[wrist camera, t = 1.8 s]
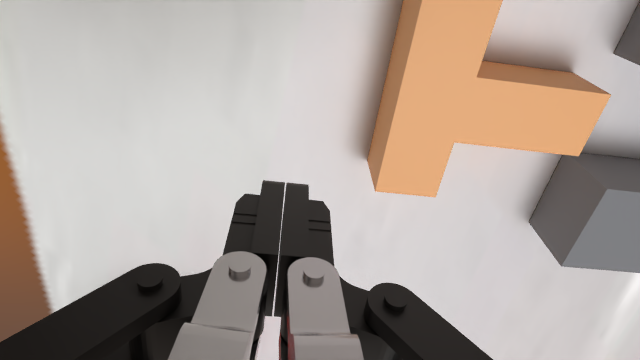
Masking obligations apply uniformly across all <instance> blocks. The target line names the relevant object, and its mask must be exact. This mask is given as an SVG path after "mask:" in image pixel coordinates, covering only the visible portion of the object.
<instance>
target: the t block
mask: <svg viewBox="0 0 640 360" xmlns="http://www.w3.org/2000/svg"><path fill="white" fill-rule="evenodd" d="M502 1H503V0H403V4H402V8H401V13H400V17H399V22H398V26H397V31H396V35H395V40H394V44H393V48H392V53H391V57H390V62H389V66H388V71H387V75H386V80H385V84H384V89H383V93H382V98H381V102H380V106H379V111H378V115H377V120H376V124H375V129H374V133H373V138H372V142H371V147H370V151H369V156H368V160H367V161H368V165H369V169H370V173H371V177H372V181H373V185H374V189H375V191H377V192H387V193H397V194H407V195H418V196H428V197H436V194H437V192H438V189H439V186H440V183H441V180H442V177H443V174H444V171H445V168H446V165H447V162H448V159H449V156H450V153H451V150H452V148H453V145H454V142H455V143H464V144H473V145H482V146H491V147H500V148H509V149H518V150H527V151H536V152H544V153H553V154H562V155H571V156H579V155H580V153H581V151H582V149H583V147H584V146H585V144H586V142H587V140H588V138H589V136H590V134H591V132H592V130H593V128H594V127H595V125H596V123H597V121H598V119H599V117H600V115H601V113H602V111H603V109H604V108H605V106H606V104H607V102H608V100H609V98H610V96H611V94H609V93H607V92H606V91H604V90H602V89H600V88H599V87H597V86H595V85H593V84H592V83H590V82H588V81H586V80H585V79H583V78H581V77H579V76H578V75H576V74H574V73H571V72H563V71H556V70H548V69H541V68H533V67H526V66H518V65H511V64H503V63H495V62H488V61H482V59H483V57H484V54H485V51H486V48H487V45H488V42H489V39H490V36H491V33H492V30H493V27H494V24H495V21H496V18H497V15H498V13H499V10H500V7H501V4H502Z"/></svg>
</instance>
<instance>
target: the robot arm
mask: <svg viewBox="0 0 640 360" xmlns="http://www.w3.org/2000/svg"><path fill="white" fill-rule="evenodd" d="M284 186H285V183H284V182H275V181H265V180H263V183H262V189H261V194H260V195H253V194H244V195H243V196H242V197H241V198H240V199H239V200H238V201H237V202H236V205H235V209H234V214H233V217H232V221H231V225H230V229H229V233H228V236H227V240H226V244H225V248H224V252H223V256H221V257H220V258H219V259H217V261H216V262H215V263H214V265H213V268H211V269H209V270H207V271H205V272H202V273H199V274H194V275H188V276H182V277H180V275H179V273H178V272H177V271H176V270H175V269H174V268H173V267H171V266H168V265H165V264H159V263H152V264H146V265H142V266H139V267H137V268H134V269H133V270H131V271H129V272H127V273H125V274H123V275H122V276H120V277H118V278H116V279H114V280H113V281H111V282H109V283H107V284H105V285H103V286H102V287H100V288H98V289H96V290H94V291H93V292H91V293H89V294H87V295H85V296H83V297H82V298H80V299H78V300H76V301H74V302H73V303H71V304H69V305H67V306H65V307H63V308H62V309H60V310H58V311H56V312H54V313H52V314H51V315H49V316H47V317H45V318H43V319H42V320H40V321H38V322H36V323H34V324H33V325H31V326H29V327H27V328H25V329H23V330H22V331H20V332H18V333H16V334H14V335H12V336H11V337H9V338H7V339H5V340H3V341H2V342H0V360H256V358H257V353H258V348H259V343H260V335H261V334H262V332H263V328H264V319H265V316H272V309H273V300H274V291H275V281H276V272H277V263H278V254H279V264H278V276H277V288H276V299H275V311H274V316H277V317H281V328H280V336H279V360H493V359H492V358H491V357H489V356H488V355H487V354H486V353H485V352H483V351H482V350H481V349H480V348H479V347H477V346H476V345H475V344H474V343H473V342H471V341H470V340H469V339H468V338H467V337H465V336H464V335H463V334H462V333H461V332H459V331H458V330H457V329H456V328H455V327H453V326H452V325H451V324H450V323H449V322H447V321H446V320H445V319H444V318H443V317H441V316H440V315H439V314H438V313H437V312H435V311H434V310H433V309H432V308H431V307H429V306H428V305H427V304H426V303H425V302H423V301H422V300H421V299H420V298H419V297H417V296H416V295H415V294H414V293H413V292H411V291H410V290H409V289H407V288H405V287H403V286H401V285H398V284H394V283H381V284H378V285H376V286H374V287H373V288H372V289H371V290H370V291H367V290H364V289H361V288H358V287H355V286H353V285H351V284H349V283H347V282H346V281H344V280H343V279H342V278H341V277H340V276H339V273H338V271H337V269H336V268H335V267H334V259H333V246H332V233H331V224H330V222H331V220H330V211H329V209H328V208H327V206H326V205H325V204H324V202H323V201H315V200H309V187H308V185H305V184H295V183H287V185H286V194H285V203H284V212H283V221H282V230H281V220H282V209H283V198H284ZM280 231H281V241H280ZM279 243H280V253H279Z"/></svg>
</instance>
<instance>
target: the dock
mask: <svg viewBox="0 0 640 360" xmlns="http://www.w3.org/2000/svg"><path fill="white" fill-rule="evenodd" d="M614 54H615V55H618V56H620V57H622V58H624V59H627V60H629V61H631V62H634V63H636V64H638V65H640V2H639V4H638V6H637V8H636V10H635V12H634V14H633V16H632V18H631V20H630V22H629V24H628V26H627V28H626V30H625V32H624V34H623V36H622V38H621V40H620V42H619V44H618V46H617V48H616V50H615V52H614ZM529 223H530V225H531V226H532V227H533V229H534V230H535V231H536V233H537V234H538V235H539V237H540V238H541V239H542V241H543V242H544V244H545V245H546V246H547V248H548V249H549V250H550V252H551V253H552V254H553V256H554V257H555V258H556V260H557V261H558V263H559V264H560V265H561V266H564V267H575V268H587V269H599V270H611V271H623V272H635V273H640V160H639V159H631V158H622V157H613V156H604V155H595V154H586V153H580V155H579V156H571V155H562V157H561V159H560V161H559V163H558V165H557V167H556V169H555V171H554V173H553V175H552V177H551V179H550V181H549V183H548V185H547V187H546V189H545V191H544V193H543V195H542V197H541V199H540V201H539V203H538V205H537V207H536V209H535V211H534V213H533V215H532V217H531V219H530V221H529Z"/></svg>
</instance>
